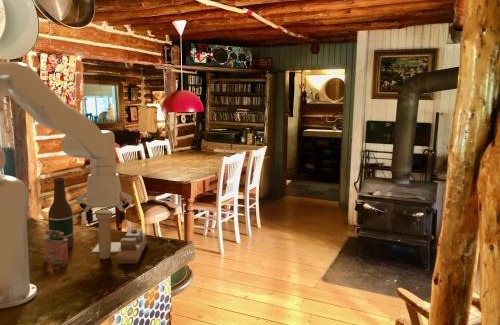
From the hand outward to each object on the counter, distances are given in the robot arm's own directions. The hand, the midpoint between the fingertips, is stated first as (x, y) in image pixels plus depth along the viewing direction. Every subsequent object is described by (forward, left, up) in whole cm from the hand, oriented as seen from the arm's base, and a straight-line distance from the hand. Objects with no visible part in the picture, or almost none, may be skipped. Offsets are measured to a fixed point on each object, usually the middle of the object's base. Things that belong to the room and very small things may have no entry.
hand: (105, 222), depth 134 cm
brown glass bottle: (+9, +17, -12) cm, 23 cm away
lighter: (-4, +14, -12) cm, 19 cm away
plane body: (+3, -8, -12) cm, 14 cm away
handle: (-1, 0, -12) cm, 12 cm away
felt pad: (+8, +1, -12) cm, 14 cm away
